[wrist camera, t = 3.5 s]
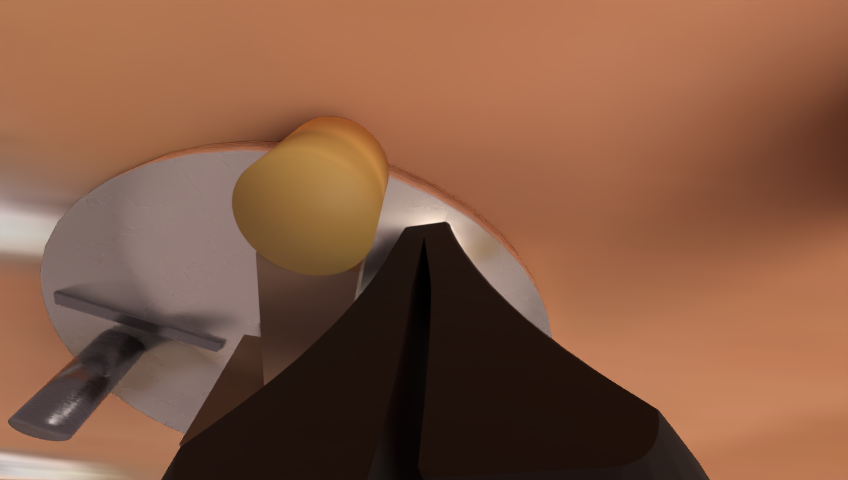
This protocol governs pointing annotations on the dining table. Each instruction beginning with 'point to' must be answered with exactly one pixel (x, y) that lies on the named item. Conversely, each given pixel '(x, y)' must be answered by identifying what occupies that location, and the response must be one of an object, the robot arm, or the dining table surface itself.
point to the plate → (213, 268)
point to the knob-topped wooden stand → (301, 248)
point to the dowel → (78, 387)
